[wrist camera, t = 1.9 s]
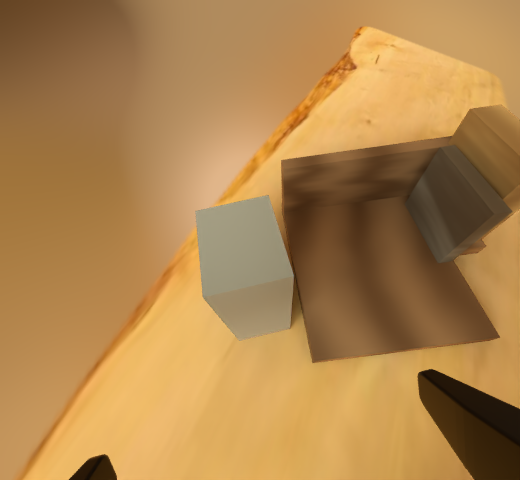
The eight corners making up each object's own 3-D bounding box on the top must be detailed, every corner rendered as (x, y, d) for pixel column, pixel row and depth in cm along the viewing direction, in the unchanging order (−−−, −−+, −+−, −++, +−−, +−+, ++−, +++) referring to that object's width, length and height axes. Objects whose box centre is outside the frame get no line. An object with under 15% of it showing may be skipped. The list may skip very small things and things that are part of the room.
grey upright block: (274, 270, 24) (268, 193, 15) (290, 328, 21) (295, 275, 12) (229, 281, 24) (194, 209, 15) (238, 340, 21) (201, 297, 12)
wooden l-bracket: (433, 188, 28) (499, 96, 19) (533, 334, 19) (733, 285, 11) (281, 209, 28) (280, 128, 20) (312, 363, 19) (333, 337, 11)
